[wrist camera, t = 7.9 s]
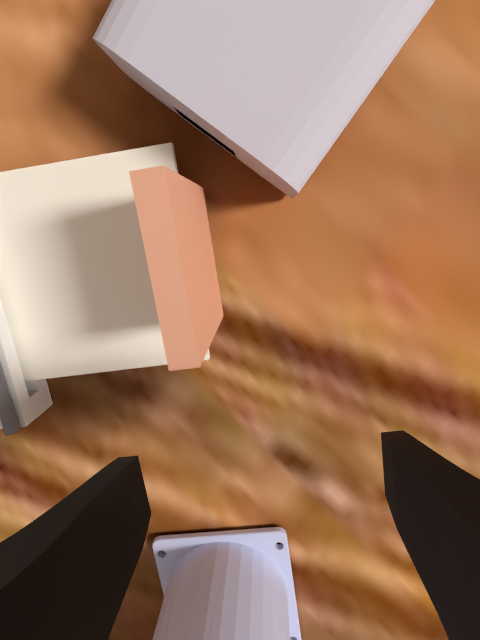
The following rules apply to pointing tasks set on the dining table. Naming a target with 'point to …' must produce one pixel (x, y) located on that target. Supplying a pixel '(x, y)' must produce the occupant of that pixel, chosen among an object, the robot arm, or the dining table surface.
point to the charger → (261, 69)
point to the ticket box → (17, 387)
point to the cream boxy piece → (107, 265)
